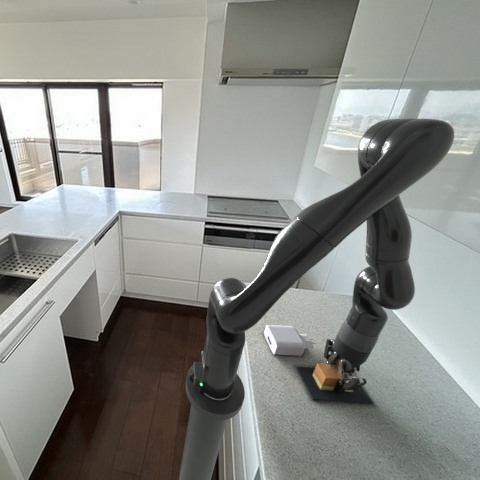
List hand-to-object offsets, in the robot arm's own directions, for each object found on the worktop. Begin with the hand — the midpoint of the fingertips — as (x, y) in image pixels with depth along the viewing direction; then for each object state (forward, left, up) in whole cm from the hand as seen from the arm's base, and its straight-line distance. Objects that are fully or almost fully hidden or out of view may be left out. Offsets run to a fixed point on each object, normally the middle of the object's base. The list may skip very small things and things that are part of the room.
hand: (332, 382), depth 73 cm
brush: (0, 0, 0) cm, 0 cm away
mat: (0, 0, -1) cm, 1 cm away
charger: (-6, +13, -1) cm, 15 cm away
